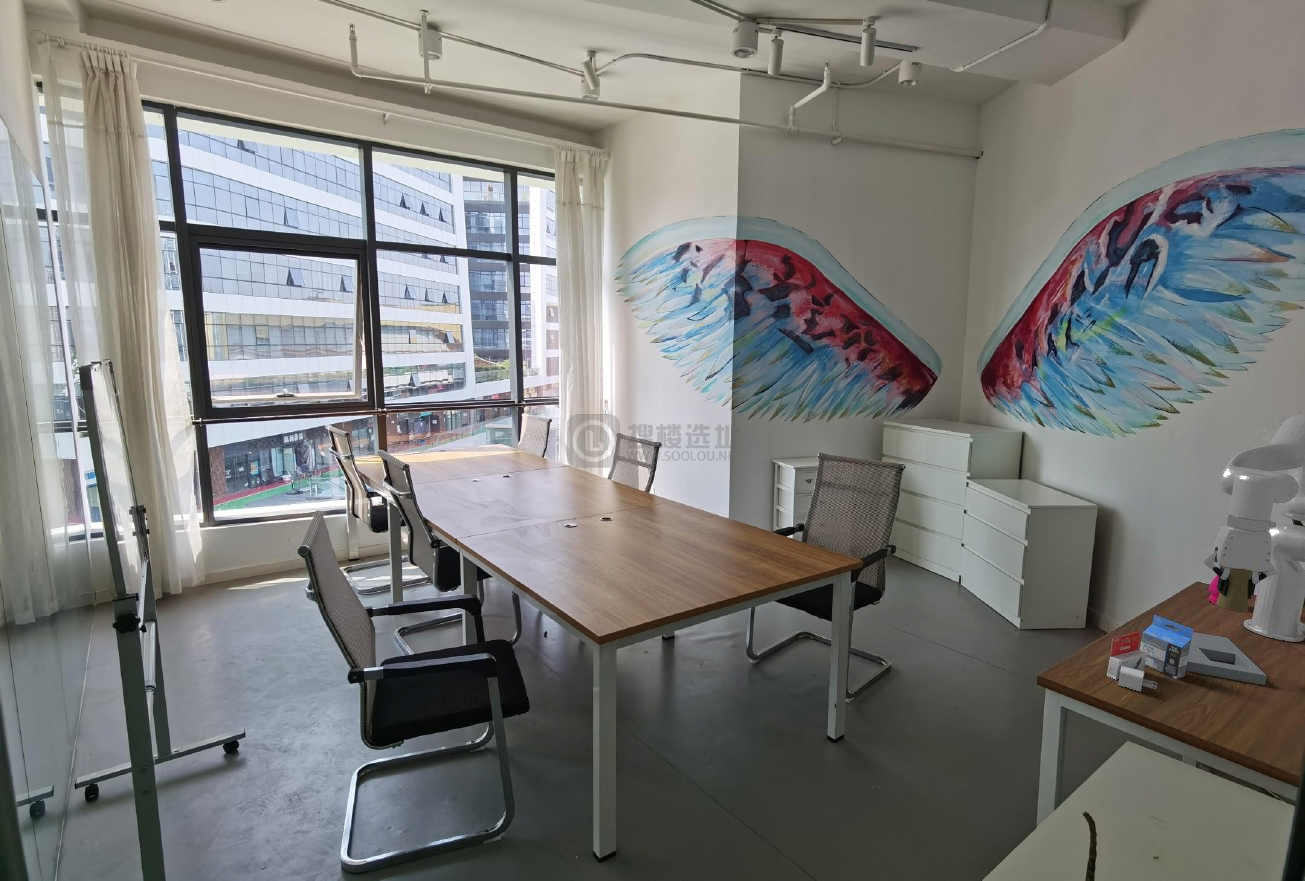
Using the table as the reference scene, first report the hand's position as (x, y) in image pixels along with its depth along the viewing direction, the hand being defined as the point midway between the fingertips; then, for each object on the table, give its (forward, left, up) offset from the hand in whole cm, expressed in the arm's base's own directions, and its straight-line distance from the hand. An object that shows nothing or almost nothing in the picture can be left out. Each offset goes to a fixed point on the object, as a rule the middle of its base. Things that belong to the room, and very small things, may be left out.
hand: (1234, 594), depth 160 cm
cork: (0, 0, -3) cm, 3 cm away
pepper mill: (-18, -53, -19) cm, 59 cm away
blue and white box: (+15, +9, -19) cm, 26 cm away
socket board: (+2, -4, -19) cm, 19 cm away
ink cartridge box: (+24, +16, -19) cm, 35 cm away
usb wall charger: (+24, +23, -19) cm, 38 cm away
